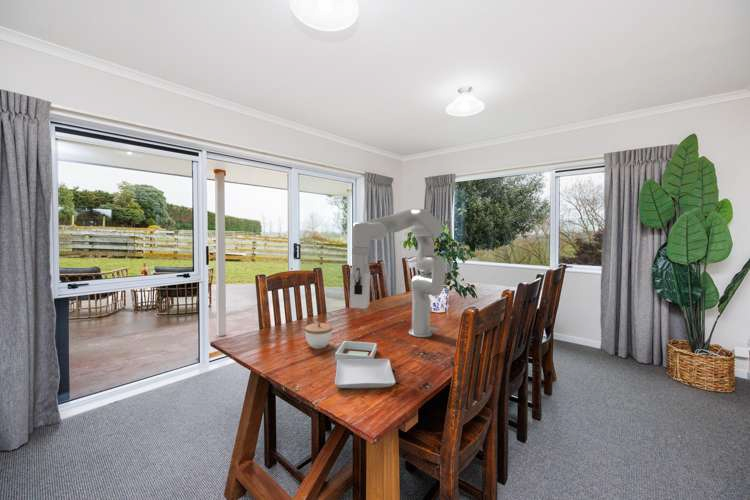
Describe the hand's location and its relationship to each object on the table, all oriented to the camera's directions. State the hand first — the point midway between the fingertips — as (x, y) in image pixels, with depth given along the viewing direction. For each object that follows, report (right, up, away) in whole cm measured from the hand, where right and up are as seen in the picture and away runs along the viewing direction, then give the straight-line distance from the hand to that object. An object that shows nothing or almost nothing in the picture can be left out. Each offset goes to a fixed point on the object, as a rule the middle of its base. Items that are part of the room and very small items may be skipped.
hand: (359, 292), depth 138 cm
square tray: (-1, -28, +2) cm, 28 cm away
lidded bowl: (-20, -27, +13) cm, 36 cm away
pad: (-1, -28, +2) cm, 28 cm away
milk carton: (0, -6, 0) cm, 6 cm away
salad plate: (+2, -30, -18) cm, 35 cm away
